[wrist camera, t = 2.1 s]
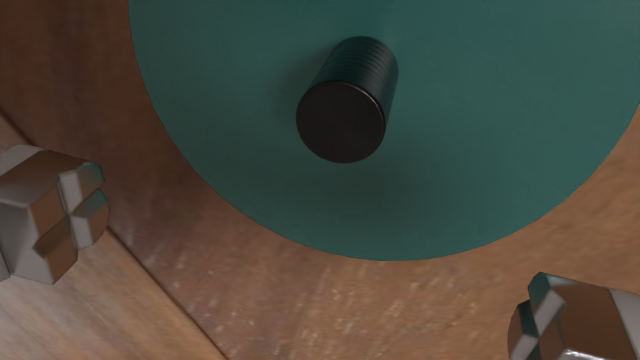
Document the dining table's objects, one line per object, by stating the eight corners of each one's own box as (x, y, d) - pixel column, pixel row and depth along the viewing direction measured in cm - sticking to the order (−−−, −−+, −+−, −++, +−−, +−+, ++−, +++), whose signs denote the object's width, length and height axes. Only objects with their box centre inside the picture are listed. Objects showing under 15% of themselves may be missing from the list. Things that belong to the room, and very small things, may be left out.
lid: (113, -306, 12) (-67, -405, 8) (806, -234, 10) (1073, -316, 6) (165, 194, 22) (98, 270, 18) (521, 282, 20) (542, 391, 15)
